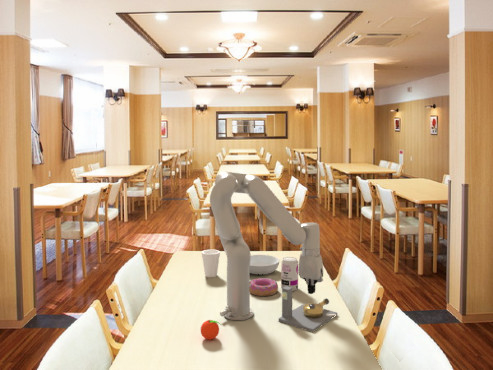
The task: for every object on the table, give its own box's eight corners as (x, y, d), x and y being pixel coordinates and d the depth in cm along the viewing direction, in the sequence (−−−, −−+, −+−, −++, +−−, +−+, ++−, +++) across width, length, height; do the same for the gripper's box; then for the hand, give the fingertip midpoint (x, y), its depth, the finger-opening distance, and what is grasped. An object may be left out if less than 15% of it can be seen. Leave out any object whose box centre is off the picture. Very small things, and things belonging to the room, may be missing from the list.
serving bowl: (235, 269, 250) (235, 257, 249) (268, 264, 258) (268, 252, 258) (251, 280, 231) (251, 267, 230) (286, 275, 240) (286, 262, 239)
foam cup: (199, 274, 241) (199, 250, 240) (216, 271, 245) (215, 248, 244) (205, 279, 233) (205, 255, 231) (222, 277, 237) (222, 253, 235)
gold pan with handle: (316, 319, 180) (316, 309, 179) (299, 314, 185) (299, 304, 184) (335, 307, 192) (335, 297, 192) (319, 302, 197) (319, 293, 197)
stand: (314, 332, 171) (315, 299, 170) (278, 321, 182) (278, 289, 180) (339, 315, 187) (340, 285, 185) (304, 306, 197) (304, 277, 196)
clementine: (222, 334, 170) (222, 316, 170) (221, 342, 164) (221, 324, 163) (201, 334, 170) (200, 316, 169) (200, 343, 163) (199, 324, 162)
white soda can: (297, 286, 222) (298, 256, 220) (298, 292, 214) (298, 261, 212) (281, 285, 223) (281, 256, 221) (281, 291, 215) (281, 261, 213)
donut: (280, 288, 220) (280, 278, 219) (274, 298, 206) (274, 288, 206) (252, 285, 224) (252, 275, 223) (244, 295, 210) (244, 285, 210)
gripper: (291, 251, 193) (292, 292, 195) (322, 256, 183) (322, 299, 186) (300, 247, 198) (301, 287, 201) (330, 252, 189) (331, 293, 191)
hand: (311, 292), depth 193 cm, fingers closed
